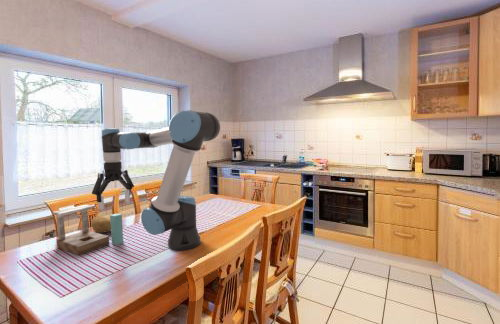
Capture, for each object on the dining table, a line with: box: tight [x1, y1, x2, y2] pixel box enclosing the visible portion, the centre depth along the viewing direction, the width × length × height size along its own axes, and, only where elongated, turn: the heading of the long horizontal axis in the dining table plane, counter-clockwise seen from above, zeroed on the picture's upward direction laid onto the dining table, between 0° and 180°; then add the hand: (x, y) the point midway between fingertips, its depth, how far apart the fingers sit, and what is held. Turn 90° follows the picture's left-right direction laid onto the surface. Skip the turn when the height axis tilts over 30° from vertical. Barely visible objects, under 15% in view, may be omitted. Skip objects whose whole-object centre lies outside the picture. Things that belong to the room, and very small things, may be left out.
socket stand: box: [52, 204, 110, 256], centre depth 129 cm, size 18×15×17 cm
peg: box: [109, 212, 124, 246], centre depth 132 cm, size 4×4×14 cm
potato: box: [90, 216, 111, 234], centre depth 148 cm, size 10×14×8 cm
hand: (115, 205), depth 131 cm, fingers open, 13 cm apart
